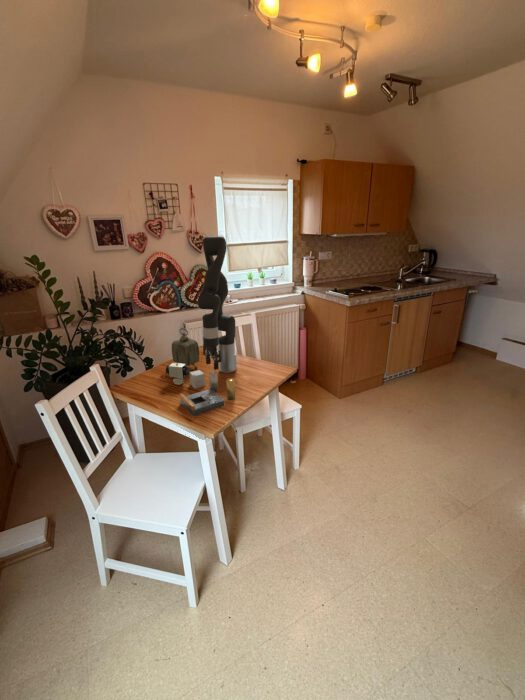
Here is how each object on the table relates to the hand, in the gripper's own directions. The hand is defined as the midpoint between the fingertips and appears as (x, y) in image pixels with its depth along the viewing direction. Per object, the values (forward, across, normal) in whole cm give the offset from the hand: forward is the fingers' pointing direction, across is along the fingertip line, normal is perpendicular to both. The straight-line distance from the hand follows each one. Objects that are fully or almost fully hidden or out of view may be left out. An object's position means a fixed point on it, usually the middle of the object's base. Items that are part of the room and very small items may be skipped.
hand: (212, 366), depth 161 cm
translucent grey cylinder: (+14, 0, 0) cm, 14 cm away
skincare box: (+14, +11, +4) cm, 18 cm away
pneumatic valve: (+14, +19, +11) cm, 26 cm away
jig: (+14, -9, +10) cm, 20 cm away
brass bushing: (+14, -12, -4) cm, 19 cm away
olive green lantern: (+14, +35, 0) cm, 38 cm away
